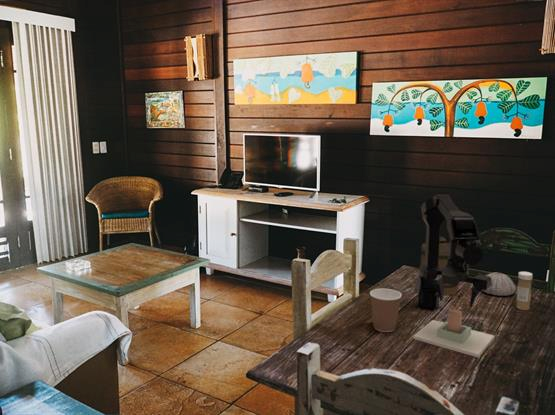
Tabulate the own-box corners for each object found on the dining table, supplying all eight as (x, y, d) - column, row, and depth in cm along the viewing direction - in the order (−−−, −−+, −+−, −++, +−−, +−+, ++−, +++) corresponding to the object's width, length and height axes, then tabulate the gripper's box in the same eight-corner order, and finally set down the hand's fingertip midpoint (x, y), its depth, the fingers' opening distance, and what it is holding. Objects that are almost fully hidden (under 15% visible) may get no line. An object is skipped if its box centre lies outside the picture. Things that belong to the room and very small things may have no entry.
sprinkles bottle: (532, 308, 179) (535, 273, 176) (525, 311, 176) (528, 275, 174) (520, 304, 182) (523, 270, 180) (513, 307, 180) (516, 272, 177)
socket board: (413, 338, 155) (413, 328, 154) (432, 322, 167) (433, 312, 166) (478, 357, 142) (479, 346, 142) (494, 338, 154) (494, 328, 154)
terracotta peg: (445, 336, 154) (446, 312, 153) (449, 331, 157) (451, 308, 156) (458, 339, 152) (459, 315, 150) (462, 335, 155) (463, 311, 153)
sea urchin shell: (472, 288, 200) (473, 269, 199) (500, 285, 204) (501, 267, 202) (493, 299, 188) (495, 280, 186) (523, 296, 191) (525, 277, 190)
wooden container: (448, 282, 207) (451, 232, 203) (463, 295, 193) (467, 241, 189) (414, 283, 207) (416, 233, 203) (426, 296, 192) (429, 241, 188)
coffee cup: (403, 324, 165) (404, 290, 163) (396, 336, 156) (398, 301, 154) (373, 319, 170) (374, 286, 167) (365, 331, 160) (366, 296, 158)
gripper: (419, 256, 149) (417, 304, 152) (482, 267, 138) (479, 319, 140) (433, 248, 158) (430, 294, 160) (494, 258, 146) (490, 307, 149)
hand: (456, 303), depth 152 cm, fingers open, 9 cm apart
